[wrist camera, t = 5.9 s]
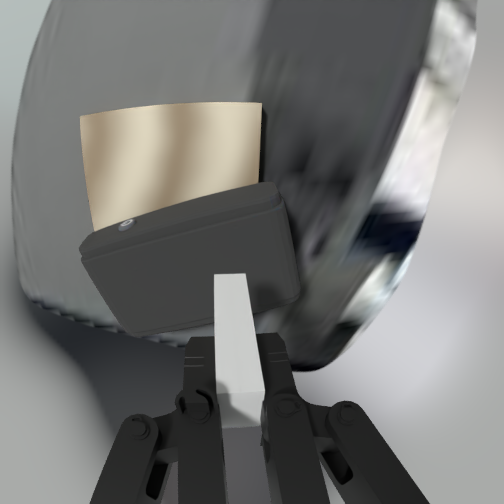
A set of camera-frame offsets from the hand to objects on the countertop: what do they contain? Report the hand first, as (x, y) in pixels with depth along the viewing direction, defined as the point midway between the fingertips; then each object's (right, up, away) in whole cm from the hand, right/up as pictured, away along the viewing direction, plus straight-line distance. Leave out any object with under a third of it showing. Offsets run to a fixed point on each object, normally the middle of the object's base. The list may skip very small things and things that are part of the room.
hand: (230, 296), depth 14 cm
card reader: (+4, +3, +6) cm, 8 cm away
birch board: (-5, +5, +8) cm, 10 cm away
